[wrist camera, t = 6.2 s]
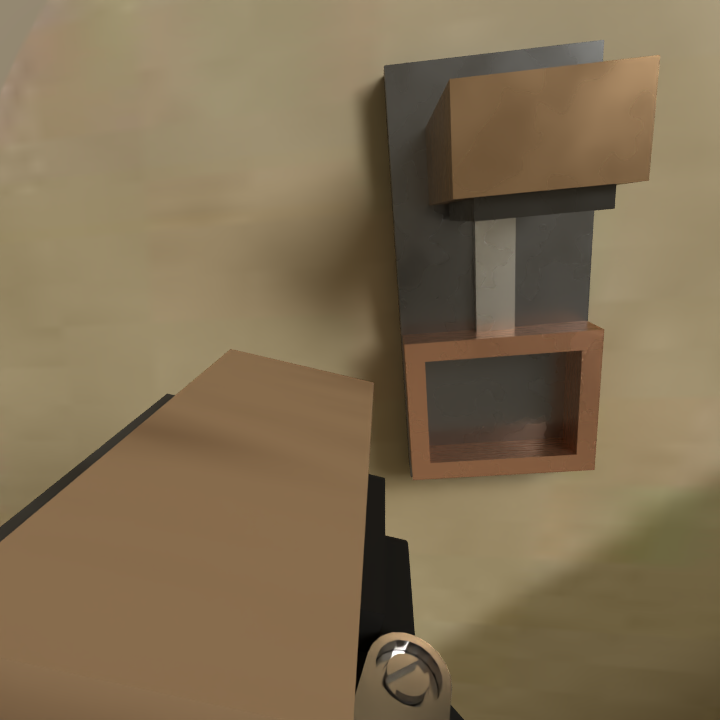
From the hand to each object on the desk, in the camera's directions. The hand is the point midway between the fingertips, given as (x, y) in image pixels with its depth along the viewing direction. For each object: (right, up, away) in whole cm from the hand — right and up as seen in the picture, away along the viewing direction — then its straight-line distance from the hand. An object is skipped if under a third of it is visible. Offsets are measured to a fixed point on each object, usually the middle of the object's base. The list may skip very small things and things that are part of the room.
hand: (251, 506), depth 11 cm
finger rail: (+10, +8, +15) cm, 19 cm away
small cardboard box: (0, 0, +1) cm, 1 cm away
